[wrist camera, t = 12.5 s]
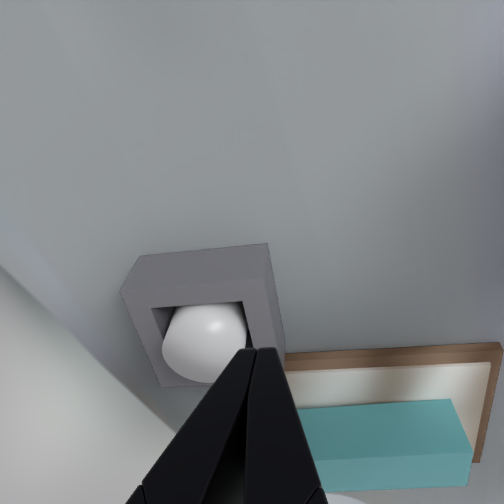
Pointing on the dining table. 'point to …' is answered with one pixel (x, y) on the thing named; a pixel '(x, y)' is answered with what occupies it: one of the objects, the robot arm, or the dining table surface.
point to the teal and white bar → (388, 445)
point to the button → (204, 339)
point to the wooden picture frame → (402, 380)
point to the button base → (202, 297)
